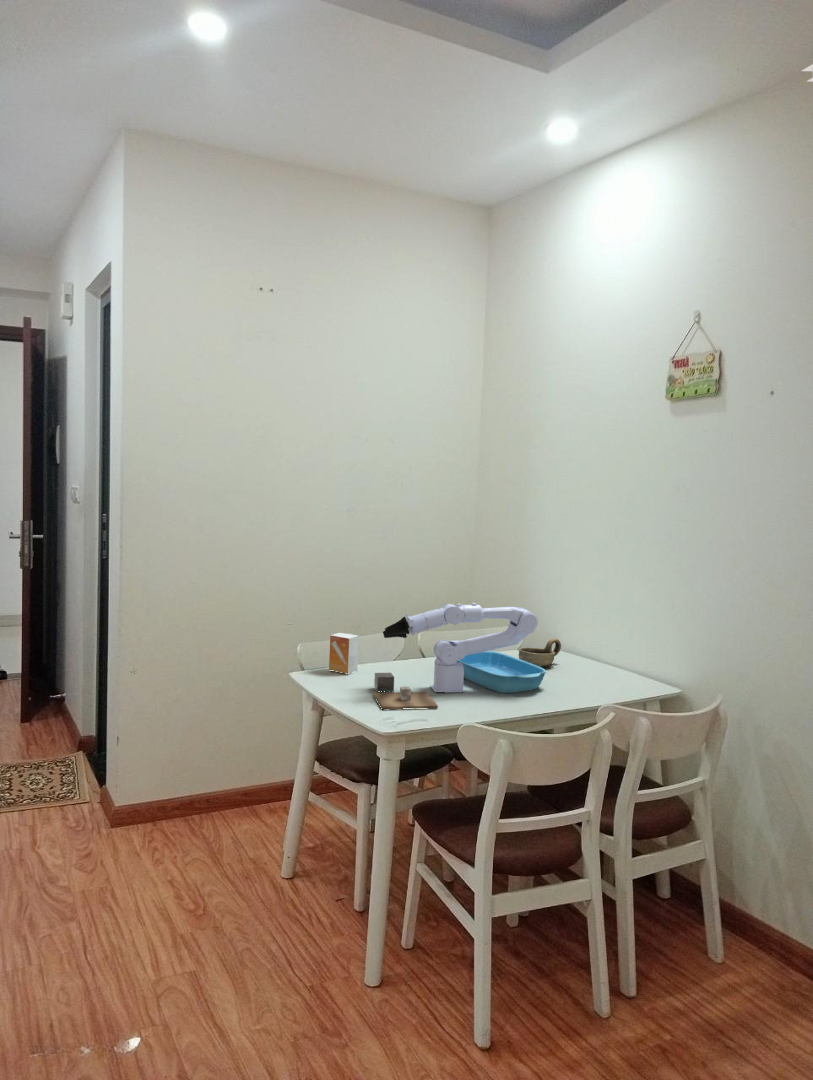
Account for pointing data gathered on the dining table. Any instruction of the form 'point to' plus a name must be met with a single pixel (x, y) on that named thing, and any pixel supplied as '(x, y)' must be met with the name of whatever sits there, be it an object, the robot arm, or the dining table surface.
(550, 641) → the bowl
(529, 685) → the casserole dish
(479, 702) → the dining table surface
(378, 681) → the square cap
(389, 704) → the post board
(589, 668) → the dining table surface
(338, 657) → the small box
